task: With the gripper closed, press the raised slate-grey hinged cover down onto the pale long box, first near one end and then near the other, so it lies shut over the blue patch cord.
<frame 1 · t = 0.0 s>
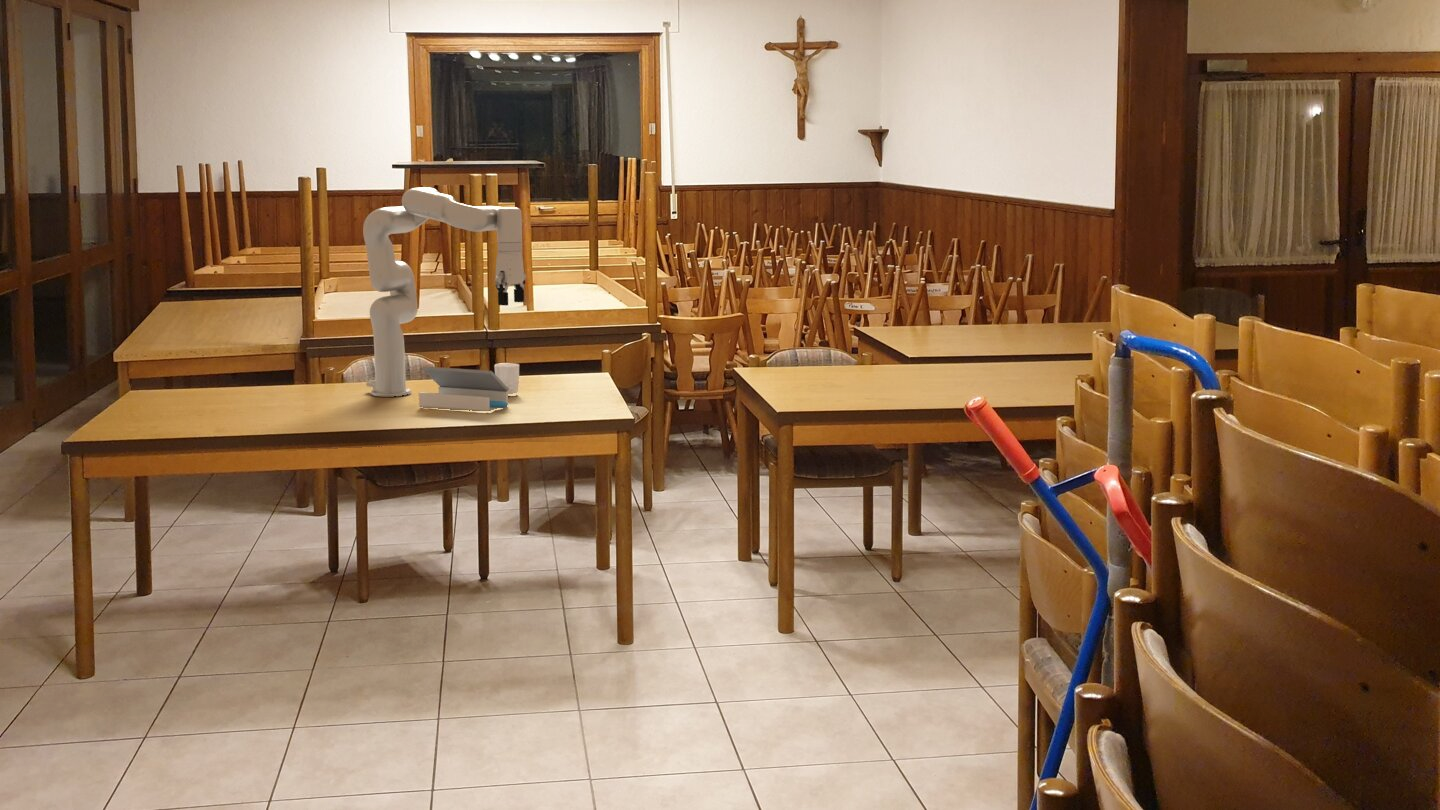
hand: (511, 303, 439), 31 cm above the table, tool pointing down, fingers open, 9 cm apart
pale long box: (463, 408, 437), on the table
white cup: (507, 396, 459), on the table
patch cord: (463, 408, 437), resting on pale long box
cover: (465, 378, 436), point 9 cm above the table, hinge at 35.0°, touching pale long box
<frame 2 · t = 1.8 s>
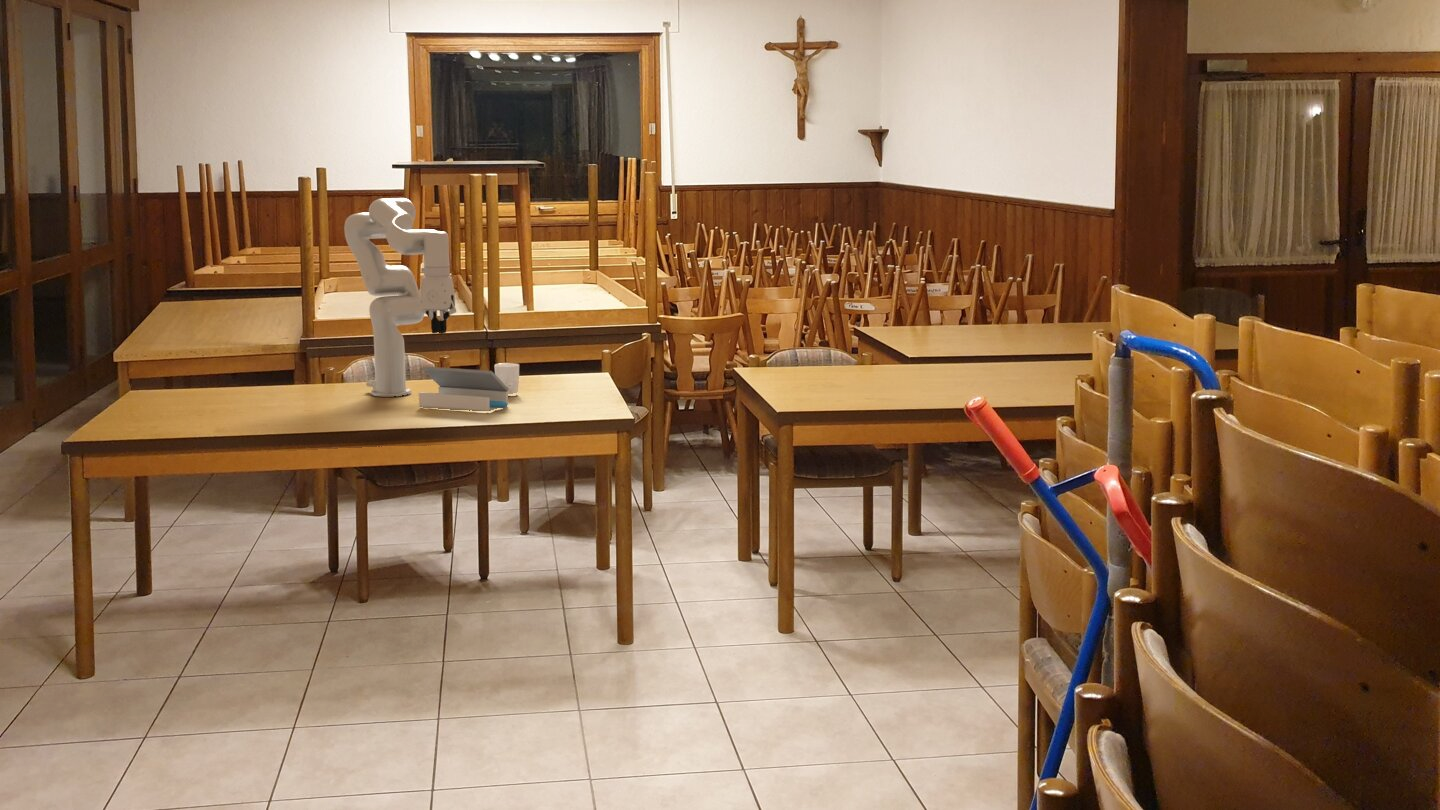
hand: (439, 332, 434), 23 cm above the table, tool pointing down, fingers closed
nothing on the table moved.
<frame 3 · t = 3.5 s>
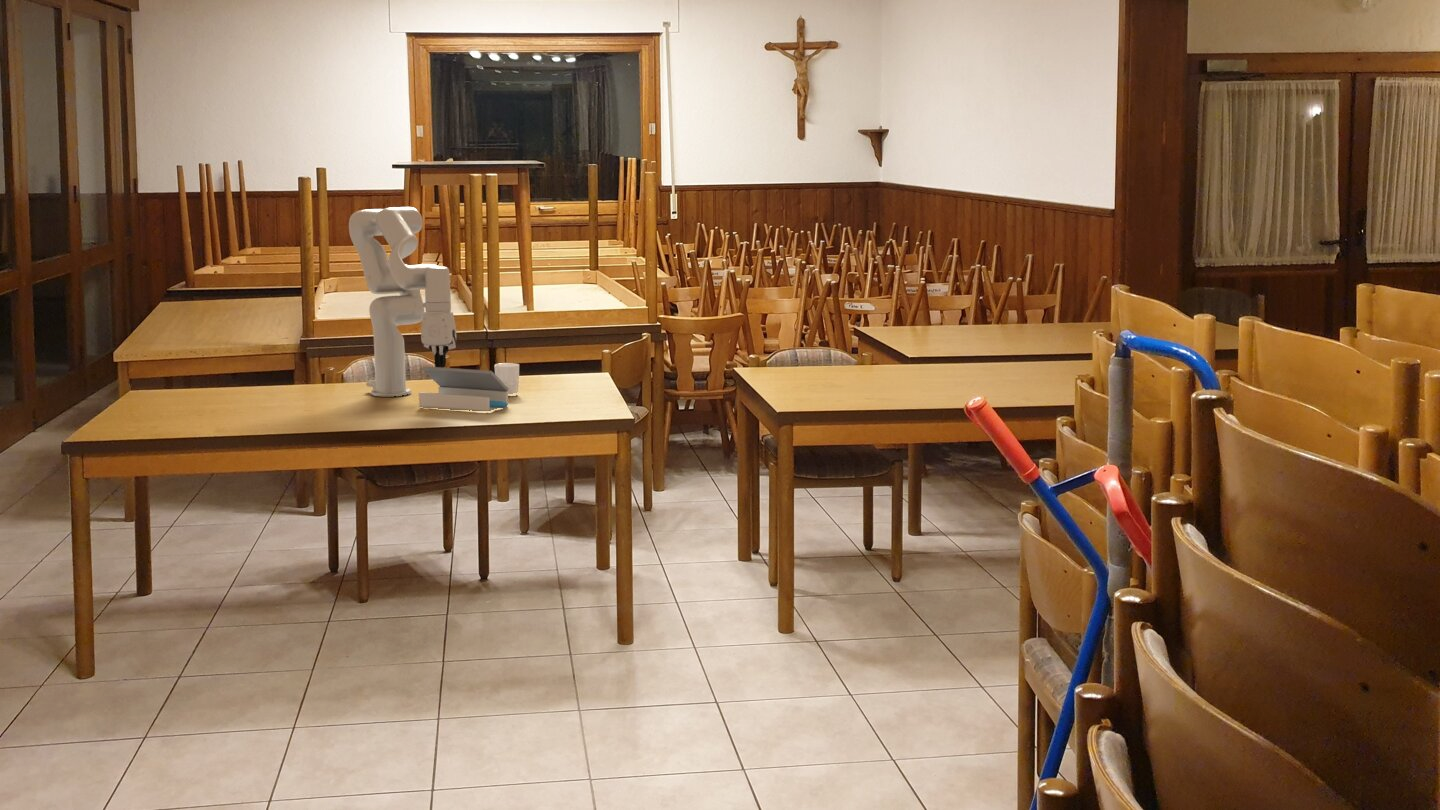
hand: (440, 367, 435), 12 cm above the table, tool pointing down, fingers closed
cover: (465, 378, 436), point 9 cm above the table, hinge at 35.0°, touching pale long box, gripper
everything else where it was.
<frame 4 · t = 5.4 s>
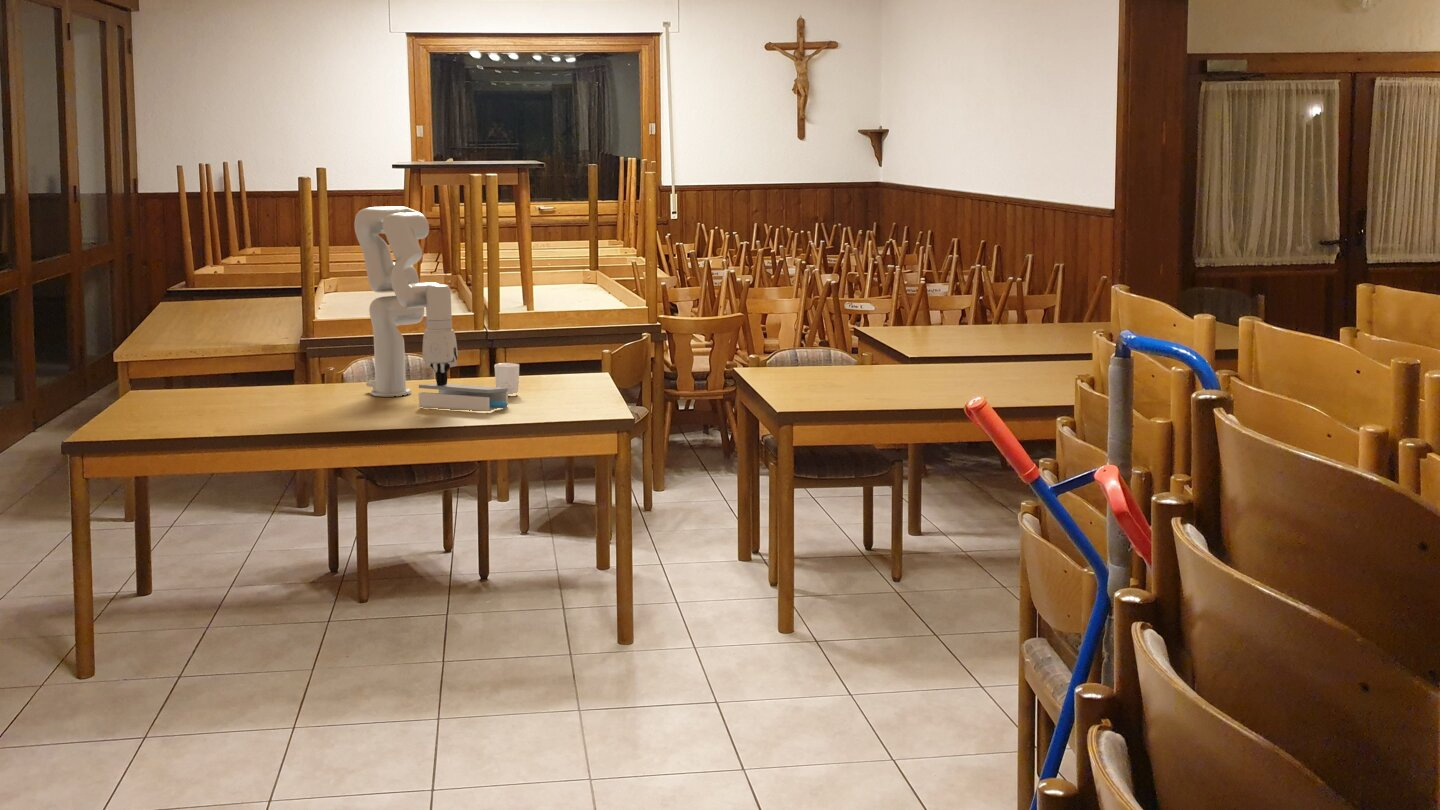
hand: (441, 384, 436), 7 cm above the table, tool pointing down, fingers closed
cover: (463, 388, 436), point 6 cm above the table, hinge at 6.6°, touching pale long box, gripper
everything else where it was.
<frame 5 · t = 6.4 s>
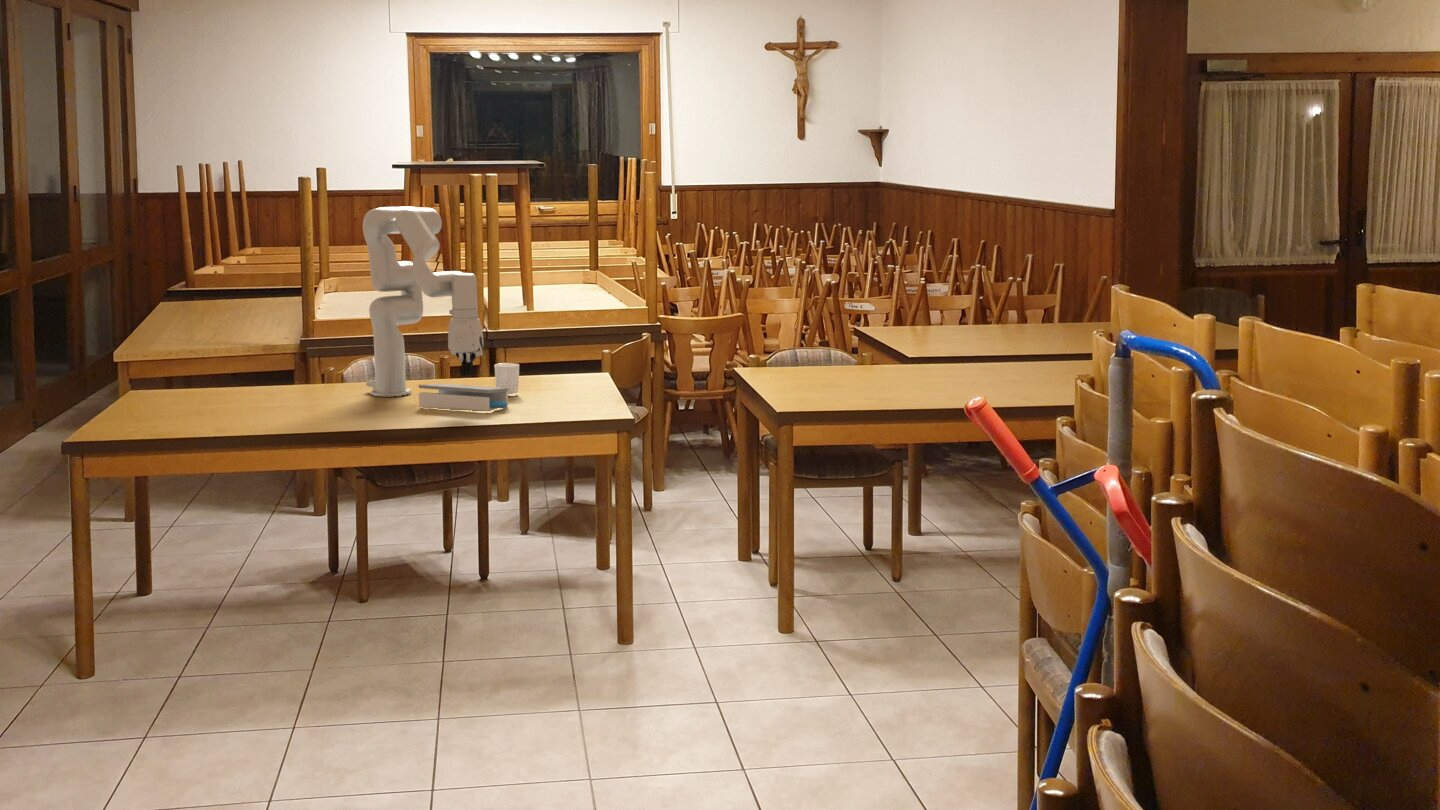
hand: (467, 374, 432), 11 cm above the table, tool pointing down, fingers closed
cover: (463, 388, 436), point 6 cm above the table, hinge at 6.5°
everything else where it was.
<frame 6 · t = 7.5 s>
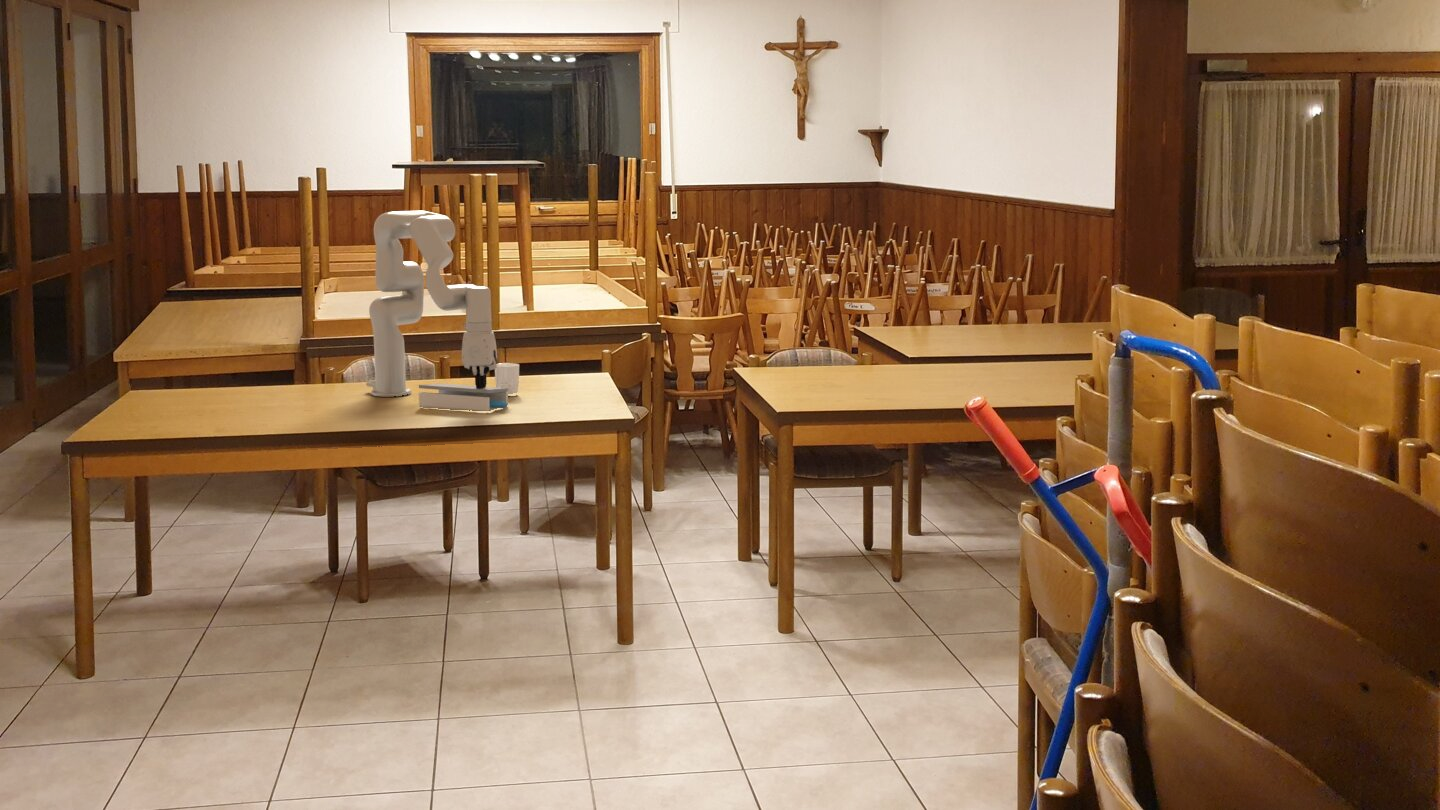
hand: (481, 387, 431), 7 cm above the table, tool pointing down, fingers closed
cover: (463, 388, 436), point 6 cm above the table, hinge at 6.4°, touching gripper
everything else where it was.
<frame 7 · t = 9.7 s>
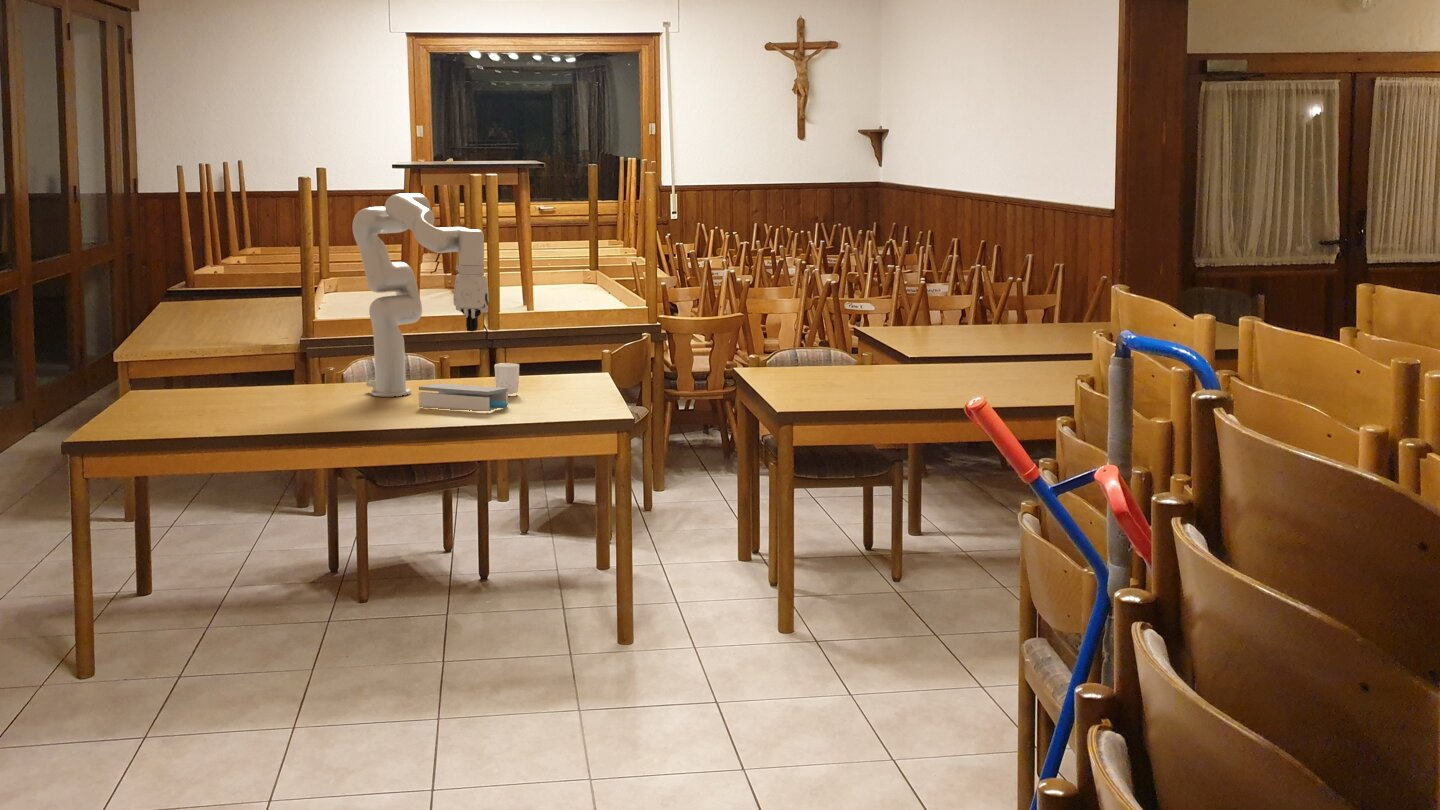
hand: (471, 330, 434), 24 cm above the table, tool pointing down, fingers closed
cover: (463, 389, 436), point 6 cm above the table, hinge at 3.8°, touching pale long box
everything else where it was.
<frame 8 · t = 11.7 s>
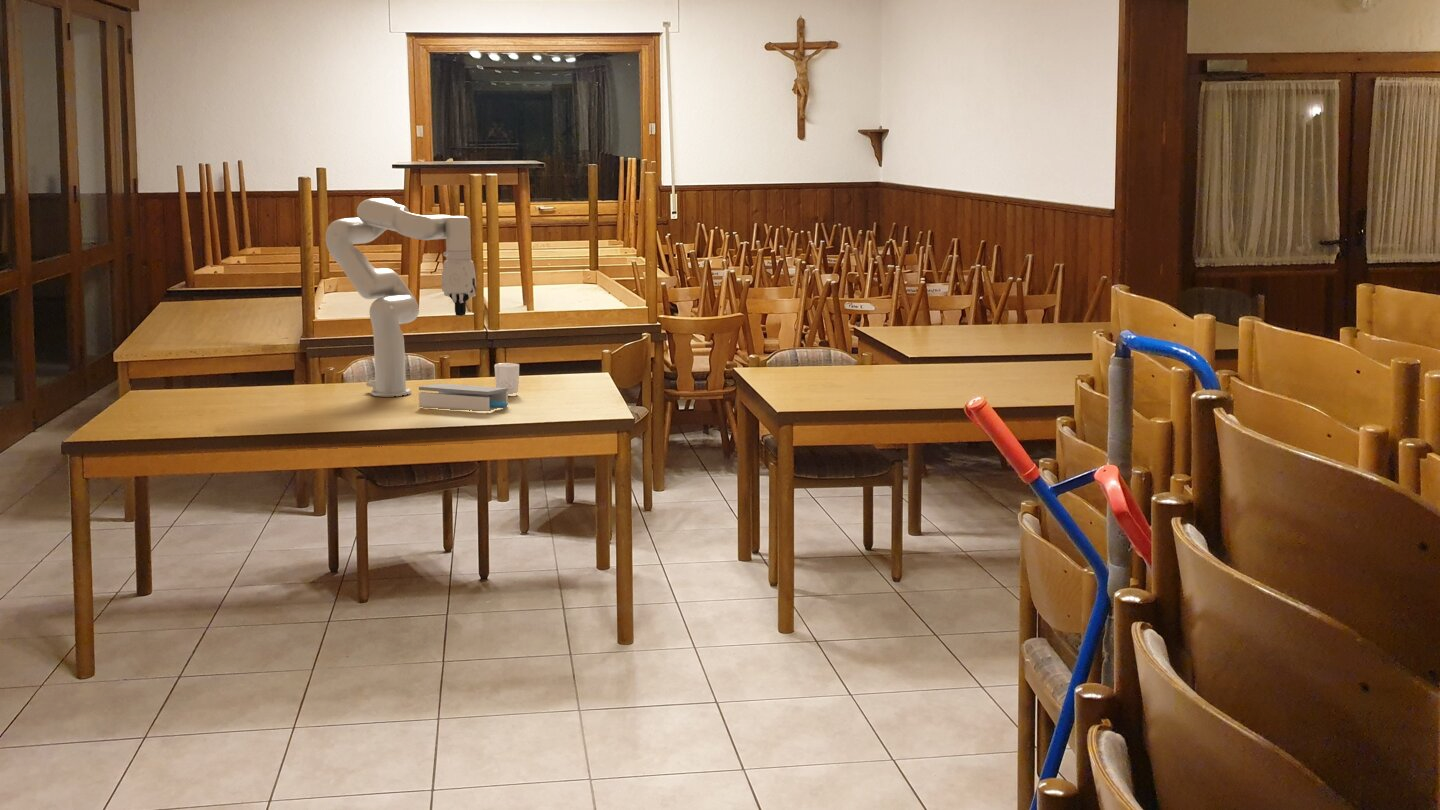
hand: (460, 315, 444), 27 cm above the table, tool pointing down, fingers closed
cover: (463, 389, 436), point 6 cm above the table, hinge at 3.8°
everything else where it was.
at the end: cover at +4° (first picture: +35°); white cup moved 0.2 cm from its start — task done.
